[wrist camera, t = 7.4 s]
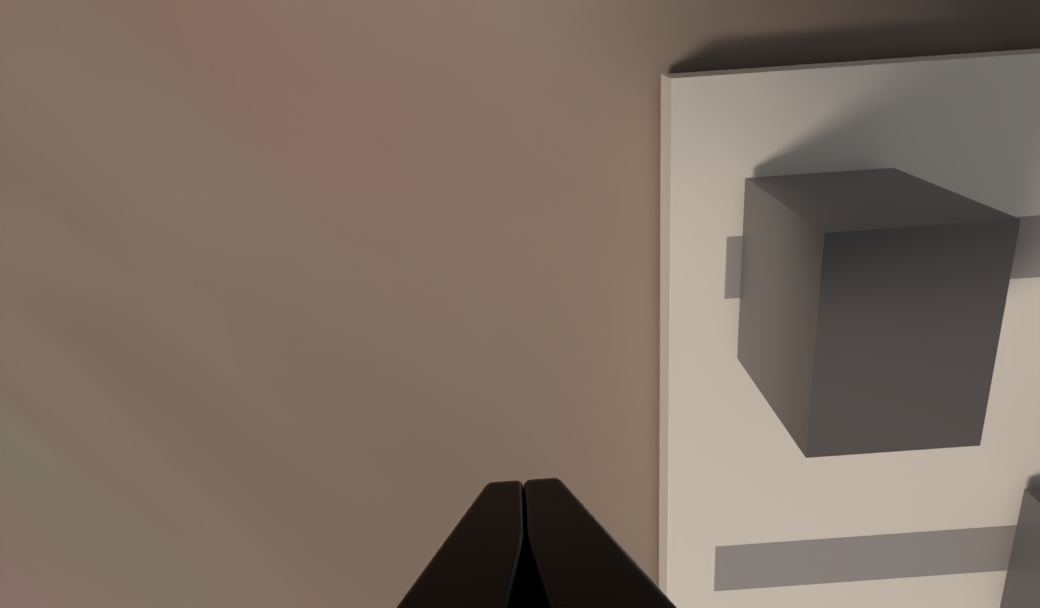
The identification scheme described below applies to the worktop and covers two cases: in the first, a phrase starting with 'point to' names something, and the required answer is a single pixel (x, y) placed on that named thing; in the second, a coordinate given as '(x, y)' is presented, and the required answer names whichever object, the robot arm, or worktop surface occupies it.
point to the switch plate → (743, 409)
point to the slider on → (1025, 557)
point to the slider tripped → (872, 308)
